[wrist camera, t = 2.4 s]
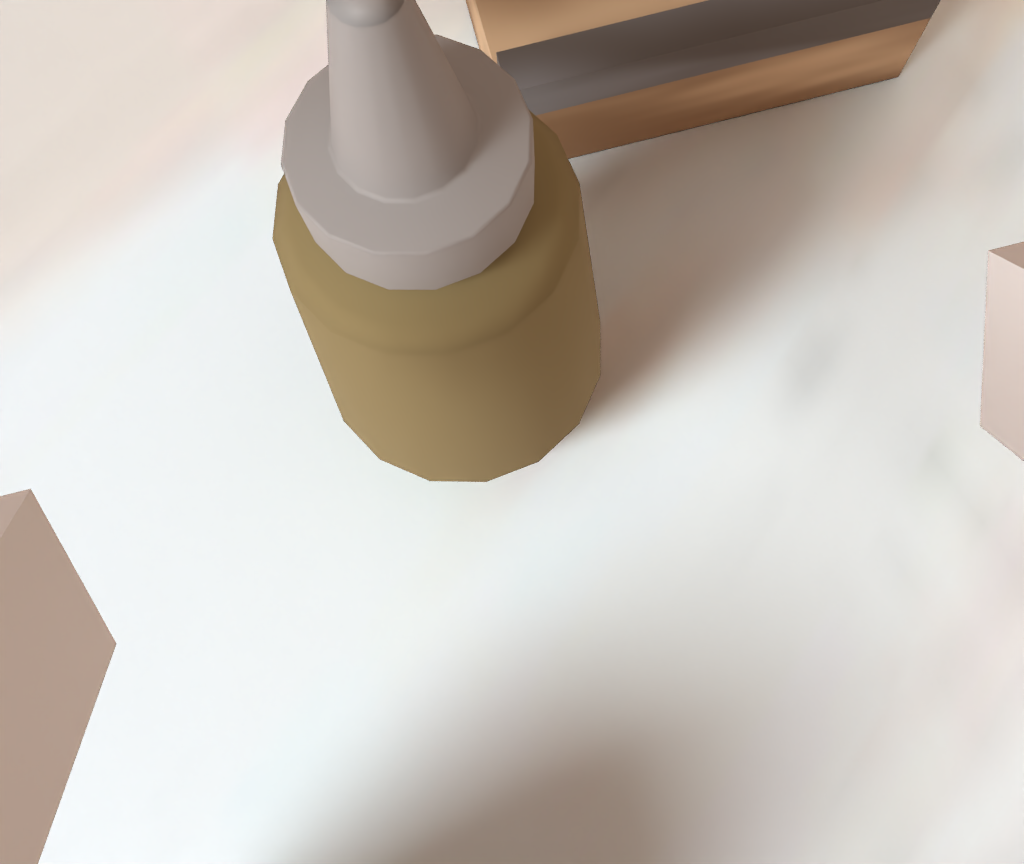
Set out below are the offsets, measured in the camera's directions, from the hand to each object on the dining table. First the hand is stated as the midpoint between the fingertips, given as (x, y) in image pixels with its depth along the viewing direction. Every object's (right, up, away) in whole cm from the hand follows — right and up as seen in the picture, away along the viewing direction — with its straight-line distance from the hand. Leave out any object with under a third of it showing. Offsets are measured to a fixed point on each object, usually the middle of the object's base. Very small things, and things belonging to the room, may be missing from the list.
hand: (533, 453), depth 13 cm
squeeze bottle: (-2, +2, +18) cm, 18 cm away
